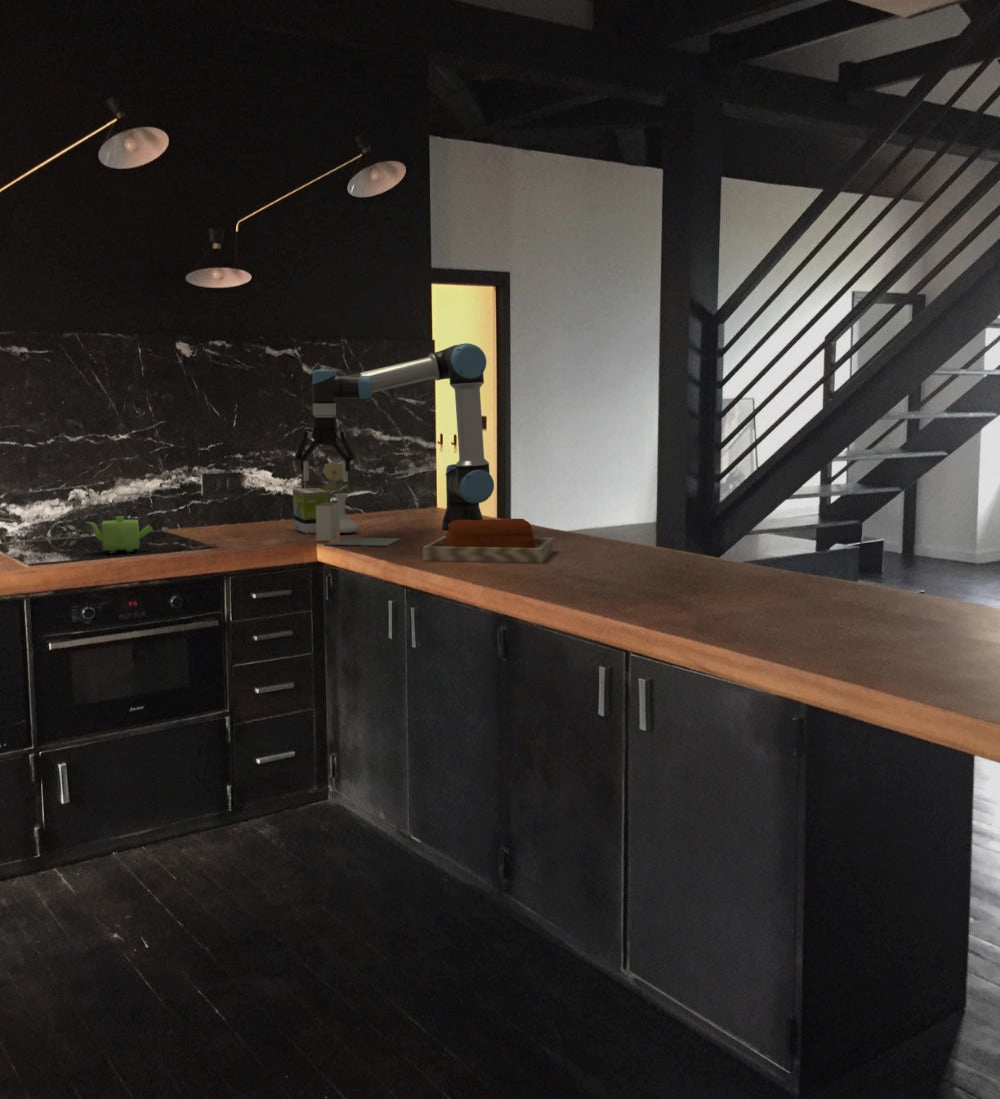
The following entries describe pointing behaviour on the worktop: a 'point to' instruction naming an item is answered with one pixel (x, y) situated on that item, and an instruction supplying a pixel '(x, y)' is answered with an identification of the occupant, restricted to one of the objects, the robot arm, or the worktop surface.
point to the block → (327, 521)
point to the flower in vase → (339, 496)
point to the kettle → (120, 534)
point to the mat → (365, 541)
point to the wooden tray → (488, 552)
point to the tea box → (307, 507)
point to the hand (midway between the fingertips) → (325, 481)
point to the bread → (490, 533)
